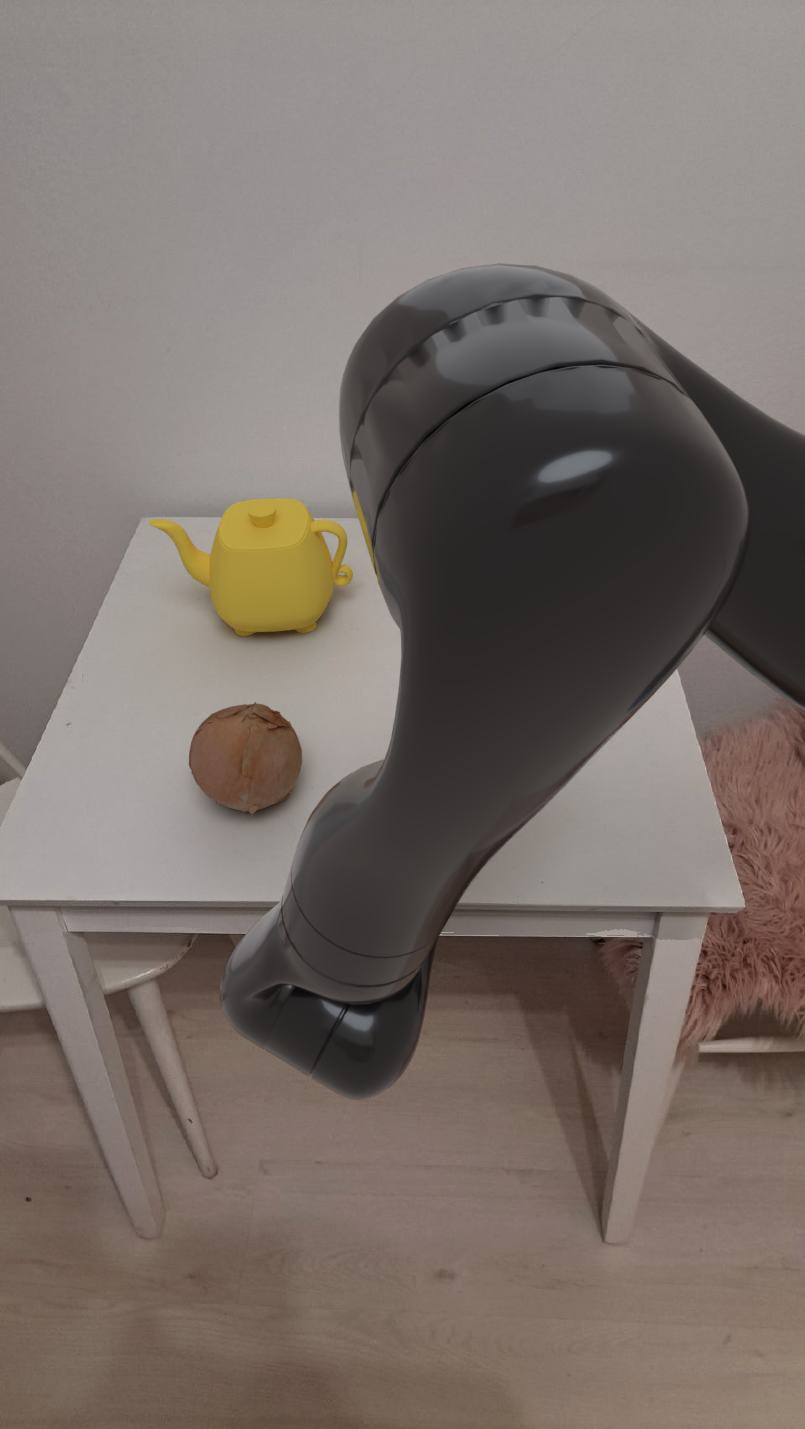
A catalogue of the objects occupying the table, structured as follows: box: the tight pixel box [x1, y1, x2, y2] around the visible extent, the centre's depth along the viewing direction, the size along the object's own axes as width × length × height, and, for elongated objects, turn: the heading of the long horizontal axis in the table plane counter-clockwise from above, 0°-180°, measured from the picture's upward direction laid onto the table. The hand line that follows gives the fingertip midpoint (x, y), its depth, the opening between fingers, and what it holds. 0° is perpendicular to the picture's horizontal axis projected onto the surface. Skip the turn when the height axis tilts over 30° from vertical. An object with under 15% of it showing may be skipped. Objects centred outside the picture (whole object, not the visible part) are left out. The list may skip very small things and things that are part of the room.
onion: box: [188, 701, 303, 815], centre depth 79 cm, size 10×9×10 cm
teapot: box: [147, 497, 354, 637], centre depth 97 cm, size 14×20×13 cm
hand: (541, 628), depth 69 cm, fingers closed
